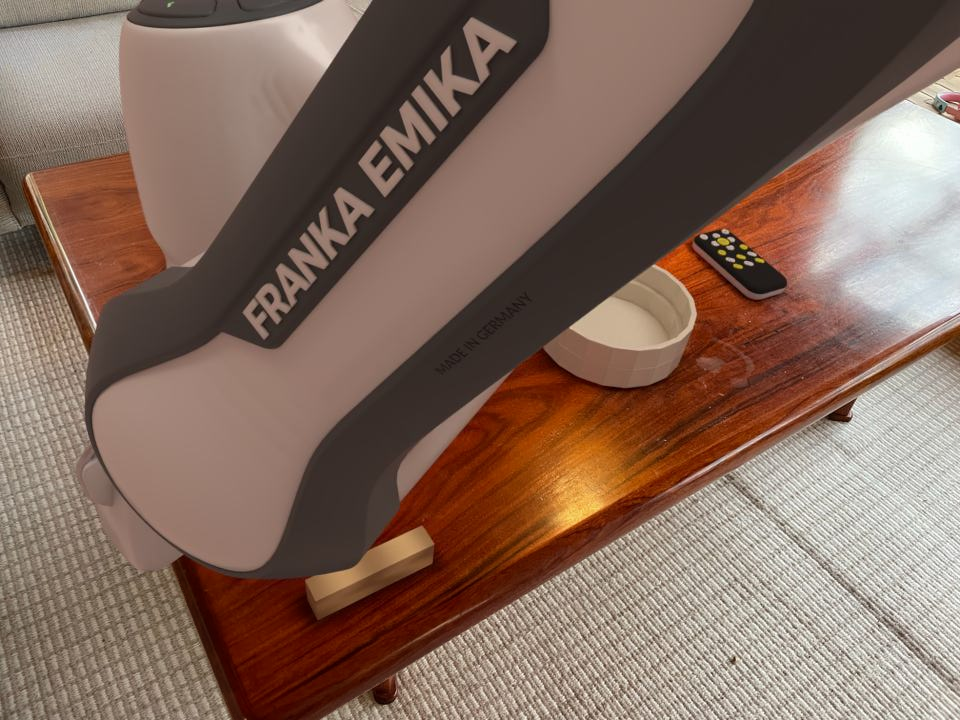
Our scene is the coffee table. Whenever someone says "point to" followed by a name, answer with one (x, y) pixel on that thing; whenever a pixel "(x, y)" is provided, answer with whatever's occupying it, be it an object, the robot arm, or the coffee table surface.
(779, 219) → the coffee table surface
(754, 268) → the remote control
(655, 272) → the bowl
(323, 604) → the tan wooden bar
